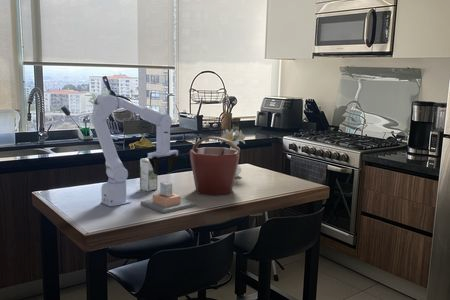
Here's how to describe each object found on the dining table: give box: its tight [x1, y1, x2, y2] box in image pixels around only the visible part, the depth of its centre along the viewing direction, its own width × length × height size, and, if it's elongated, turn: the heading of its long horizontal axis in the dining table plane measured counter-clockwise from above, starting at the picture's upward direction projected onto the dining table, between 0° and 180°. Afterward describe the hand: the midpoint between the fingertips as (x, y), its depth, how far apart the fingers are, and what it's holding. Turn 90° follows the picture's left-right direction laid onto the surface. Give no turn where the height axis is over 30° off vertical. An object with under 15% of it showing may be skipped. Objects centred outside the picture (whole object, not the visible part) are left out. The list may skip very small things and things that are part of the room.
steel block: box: [159, 181, 173, 198], centre depth 181 cm, size 3×4×8 cm
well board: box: [140, 192, 197, 214], centre depth 182 cm, size 16×16×4 cm
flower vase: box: [220, 128, 246, 178], centre depth 236 cm, size 13×18×25 cm
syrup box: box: [139, 157, 159, 192], centre depth 205 cm, size 6×6×14 cm
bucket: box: [189, 136, 241, 197], centre depth 203 cm, size 24×22×25 cm
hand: (163, 173), depth 193 cm, fingers open, 7 cm apart
